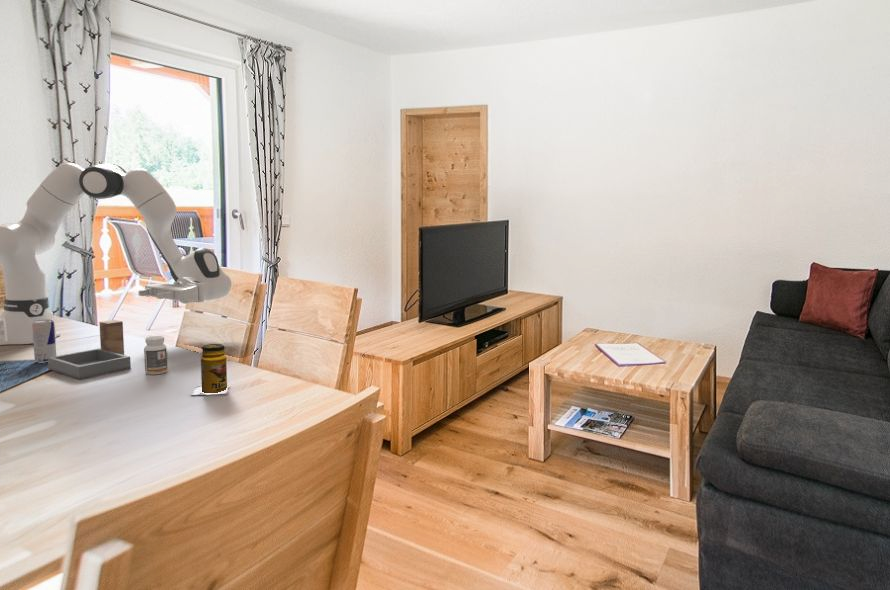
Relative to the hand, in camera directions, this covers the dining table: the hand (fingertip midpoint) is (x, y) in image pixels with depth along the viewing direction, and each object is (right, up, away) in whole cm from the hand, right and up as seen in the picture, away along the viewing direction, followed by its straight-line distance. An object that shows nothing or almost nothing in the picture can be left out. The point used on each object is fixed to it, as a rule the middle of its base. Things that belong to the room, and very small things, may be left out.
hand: (148, 294), depth 188 cm
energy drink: (-23, -20, -14) cm, 33 cm away
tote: (-6, -21, -21) cm, 30 cm away
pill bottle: (+13, -22, -22) cm, 34 cm away
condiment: (+34, -25, -37) cm, 56 cm away
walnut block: (-7, -19, -8) cm, 22 cm away
